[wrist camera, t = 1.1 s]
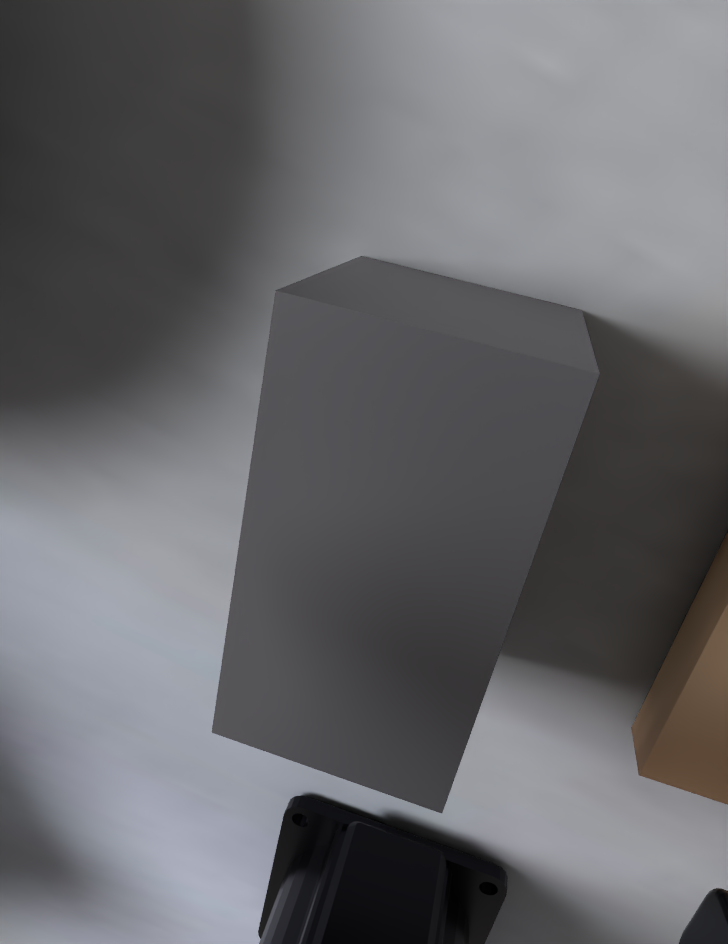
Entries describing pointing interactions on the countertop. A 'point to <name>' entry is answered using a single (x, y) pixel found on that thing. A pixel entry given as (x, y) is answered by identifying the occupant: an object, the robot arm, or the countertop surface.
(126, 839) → the countertop surface
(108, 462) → the countertop surface
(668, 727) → the pin board
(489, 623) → the block
